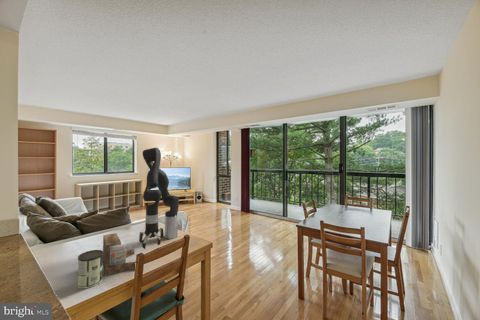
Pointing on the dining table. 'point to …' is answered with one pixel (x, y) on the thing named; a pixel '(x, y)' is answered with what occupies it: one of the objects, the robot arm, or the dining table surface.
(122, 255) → the ink box
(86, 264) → the coffee can
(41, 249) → the dining table surface
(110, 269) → the shelf bay
